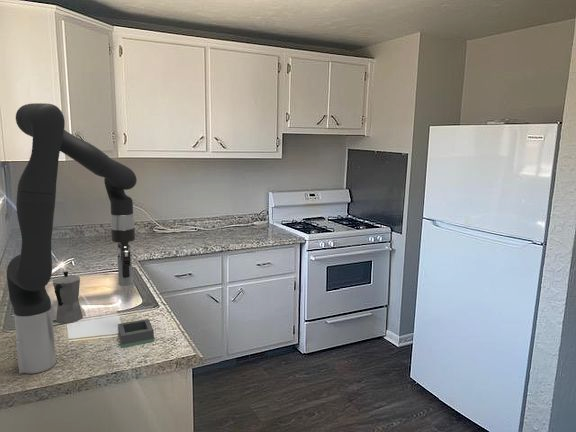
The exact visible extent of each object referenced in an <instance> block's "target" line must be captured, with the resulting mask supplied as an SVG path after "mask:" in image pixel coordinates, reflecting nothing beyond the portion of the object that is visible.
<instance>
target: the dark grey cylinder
mask: <svg viewBox="0 0 576 432" xmlns="http://www.w3.org/2000/svg"><path fill="white" fill-rule="evenodd" d="M121 257H122V256H121ZM132 257H133V256H131V259H130V264H131V265H130V267H129V271H130V277H127V278H123V273H122V266H121V265H122V261H121V260H120V256H119V255H118V254H117V257H116V258H117V273H118V275H117V276H118V285H119V286H120V287H129V286H131V285H133V284H134V283H133V279H134V278H133V259H132ZM124 263H128V261H124Z"/></svg>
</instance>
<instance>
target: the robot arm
mask: <svg viewBox="0 0 576 432" xmlns="http://www.w3.org/2000/svg"><path fill="white" fill-rule="evenodd" d="M65 122H66V121H65V116H64V114H63V112H62V110H61V109H60V108H59V107H58V106H57V105H54V104H51V103H47V102H46V103H45V102H44V103H43V102H42V103H41V102H40V103H35V102H34V103H32V102H31V103H27V104H24V105H21V106H20V107H19V108H18V109H17V110H16V113H15V123H16V124H17V125H16V126H18V128H19V130H21V132H22V133H24V134H25V135H27V136H29V137H32V143H31V144H32V148H31V153H30V157H29V159H28V162H27V164H26V166H25V168H24V169H23V172H22V173H21V175H20V179H19V181H18V184H17V189H16V190H17V191H16V205H15V206H16V215H17V222H18V225H19V231H20V235H21V251H20V254H18V255H16V256H14V257H13V258H12V259H10V261H9V263H8V265H7V268H6V281H7V289H8V295H9V301H10V303H11V306H12V309H13V316H14V317H13V319H14V325H15V326H14V327H15V336H16V340H15V348H16V350H15V351H16V357H17V364H18V365H17V366H18V374H19V375H20V374H39V373H42V372H45V371H47V370H50V369H51V368H53V367H54V366H55V365H56V363H57V354H56V345H55V343H56V342H55V335H54V334H55V333H54V323H53V314H52V313H53V311H52V300H51V297H50V296H49V294H48V292H47V289H46V286H47V285H48V284H49V282H50V281H51V279H52V275H53V261H52V260H53V259H52V258H53V257H52V239H53V238H52V236H53V227H54V216H55V208H56V196H57V194H56V193H57V179H58V172H59V171H58V170H59V159H60V158H59V157H60V153H62V154H64V155H66V156H67V157H68V158H71V159H72V160H74V161H75V162H76V163H78V164H80V165H81V166H83V167H84V168H86V170H89V172H91V173H93V174H94V175H96V176H98V177H100V178H101V177H102V178H104V179H103V180H104V181H103V182H104V186H105V189H106V193H107V197H108V198H109V202H110V233H111V234H110V235H111V236H110V237H111V241H112V242H114V243H117V246H116V248H117V253H118V254H117V256H118V255H119V256H120V260H121V261H122V265H121V266H122V273H123V278H127V277H130V271H129V267H130V265H131V264H130V259H131V257H132V254H131V251H132V249H131V245H130V244H129V243H130V242H134V241H135V240H136V229H135V227H136V226H135V218H134V216H135V215H134V204H133V199H132V197H131V196H128V195H127V194H126V193H125V191H127V190H131V189H133V188H134V187H135V186H136V184H137V181H138V180H137V176H136V173H135V172H134V171H133V170H132V168H129V167H128V166H126V165H124V164H123V163H120V162H119V161H116V160H115V159H113V158H111V157H110V156H108V155H107V154H106V153H105V152H103V151H102V150H101V149H99V148H98V147H97V146H95V145H93V144H91V143H90V142H88V141H85V140H83V139H82V138H79V137H78V136H75V135H73V134H72V133H70V132H68V131H67V130H65V126H66V125H65ZM121 256H122V257H121ZM124 261H128V263H124Z"/></svg>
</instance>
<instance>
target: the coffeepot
mask: <svg viewBox="0 0 576 432" xmlns="http://www.w3.org/2000/svg"><path fill="white" fill-rule="evenodd" d="M80 284H81V277H80V276H79V275H76V274H69V271H68V270H67V271H63V275H62V276H59V277H57V278H54V279H52V285H53V289H54V294H55V296H56V300H57V310H56V318H55V319H56V320H55V321H56V323H58V324H71V323H72V324H73V323H74V322H75V323H76V322H78V321H80V320H81V319H83V312H82V309H81V305H80V300H79V296H80Z"/></svg>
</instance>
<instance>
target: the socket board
mask: <svg viewBox="0 0 576 432" xmlns="http://www.w3.org/2000/svg"><path fill="white" fill-rule="evenodd" d="M117 332H118V339H119V343H120V346H121V348H128V347H135V346H139V345H143V344H149V343H153V342H155V333H154V332H155V331H154V328H153V326H152V324H151V322H150V319H149V318H145V319H139V320H133V321H127V322H121V323H117Z"/></svg>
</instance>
